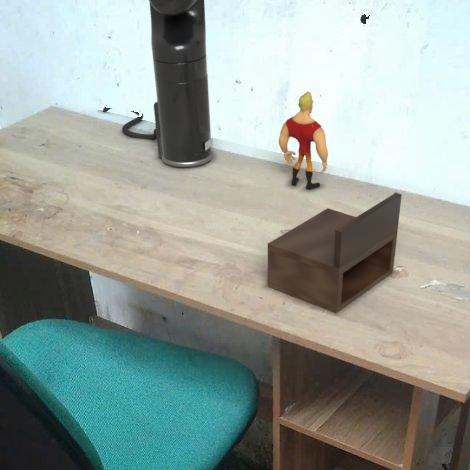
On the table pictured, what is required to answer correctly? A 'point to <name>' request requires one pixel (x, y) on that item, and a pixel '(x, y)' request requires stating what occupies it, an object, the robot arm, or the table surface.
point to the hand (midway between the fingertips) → (348, 25)
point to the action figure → (304, 140)
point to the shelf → (336, 255)
